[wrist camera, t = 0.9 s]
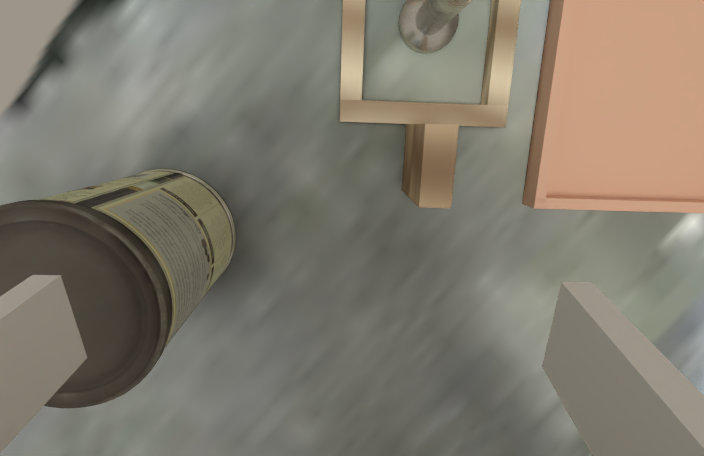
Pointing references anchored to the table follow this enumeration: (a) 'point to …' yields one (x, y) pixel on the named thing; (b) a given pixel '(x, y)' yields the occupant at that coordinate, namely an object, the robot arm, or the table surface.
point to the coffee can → (121, 268)
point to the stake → (429, 23)
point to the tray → (620, 108)
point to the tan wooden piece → (431, 104)
